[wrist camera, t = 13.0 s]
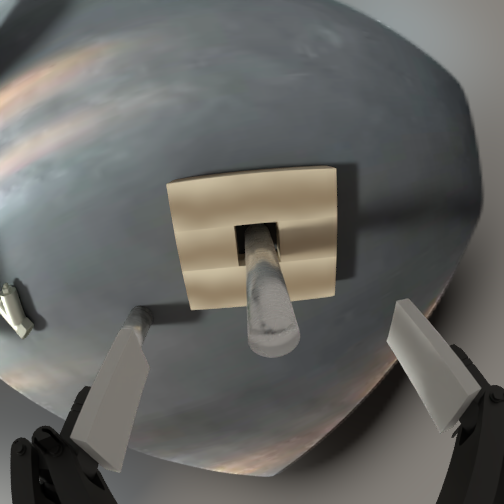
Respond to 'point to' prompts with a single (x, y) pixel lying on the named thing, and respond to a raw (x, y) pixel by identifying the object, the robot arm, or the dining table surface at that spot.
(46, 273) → the dining table surface
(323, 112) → the dining table surface
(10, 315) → the pipe fitting
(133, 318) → the short pin
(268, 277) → the long pin
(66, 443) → the robot arm
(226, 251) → the hole plate
